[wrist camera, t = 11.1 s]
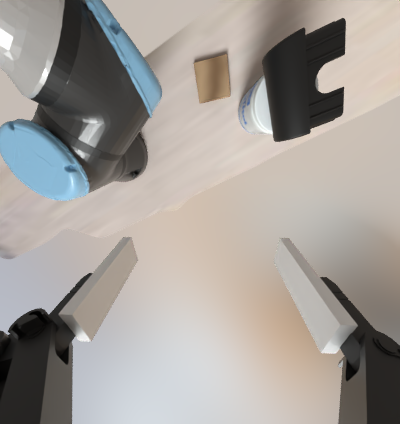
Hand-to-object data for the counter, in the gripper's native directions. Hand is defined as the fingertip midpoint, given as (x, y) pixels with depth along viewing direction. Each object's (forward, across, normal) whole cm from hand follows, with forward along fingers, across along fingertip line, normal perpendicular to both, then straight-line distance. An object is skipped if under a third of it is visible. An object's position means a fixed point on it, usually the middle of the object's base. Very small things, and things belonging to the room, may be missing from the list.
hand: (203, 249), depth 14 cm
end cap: (+18, +12, +14) cm, 26 cm away
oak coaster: (+33, +2, +20) cm, 39 cm away
